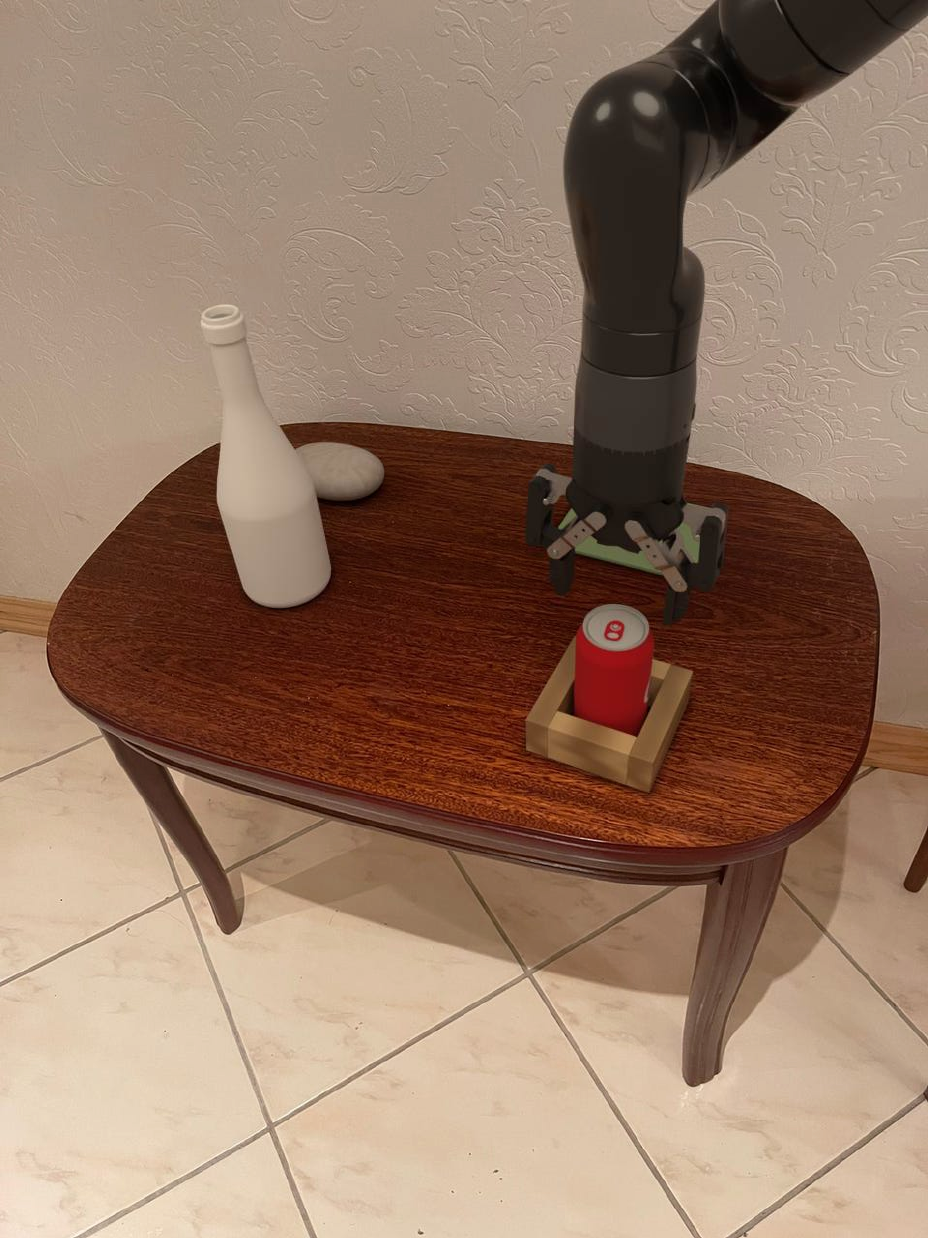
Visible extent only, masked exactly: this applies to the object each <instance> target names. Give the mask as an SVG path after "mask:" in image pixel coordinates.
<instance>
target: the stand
mask: <svg viewBox="0 0 928 1238" xmlns="http://www.w3.org/2000/svg"><path fill="white" fill-rule="evenodd" d="M575 649H576V635H575V636H574V637H573V638H572V639H571V641H570V643H569V644H568V647H567V648H566V650H565V652H564V653H563V655H562V657H561V659H560V660H559V662H558V664H557V666H556V667H555V669H554V670H553V672H552V674H551V676H550V677H549V679H548V681H547V682H546V684H545V686H544V688H543V689H542V690H541V692H540V694H539V695H538V698H537V699H536V701H535V703H534V704H533V707H532V708H531V709H530V712H529V713H528V715H527V716H526V718H525V750H526V751H528V752H530V753H534V754H537V755H539V756H541V757H545V758H547V759H550V760H554V761H557V762H559V763H561V764H565V765H568V766H570V767H573V768H576V769H580V770H582V771H585V772H587V773H591V774H594V775H595V776H599V777H602V778H605V779H608V780H610V781H613V782H616V783H619V784H622V785H623V786H624V785H625V786H628V787H631V788H633V789H637V790H639V791H642V792H645V793H647V794H649V793H650V792H651V790H652V787H653V785H654V784H655V781H656V779H657V776H658V774H659V771H660V769H661V767H662V765H663V762H664V759H665V758H666V755H667V754H668V751H669V748H670V745H671V743H672V741H673V739H674V737H675V734H676V731H677V729H678V727H679V725H680V722H681V720H682V717H683V715H684V713H685V711H686V709H687V706H688V704H689V699H690V695H691V694H690V693H691V687H692V682H693V676H694V671H693V670H691V669H688V668H684V667H681V666H679V665H678V666H677V665H674V664H671V663H667V662H665V661H660V660H658V659H654V658H653V661H652V670H651V679H650V688H649V697H648V706H647V707H649V708H650V709H649V712H647V715H646V720H645V722H644V724H643V726H642V728H641V730H640V733H639V735H638V737H635V736H632V735H629V734H626V733H623V732H620V731H617V730H614V729H611V728H607V727H604V726H601V725H598V724H595V723H592V722H589V721H586V720H583V719H580V718H577V717H574V715H572V713H573V712H574V687H575Z"/></svg>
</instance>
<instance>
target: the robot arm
mask: <svg viewBox="0 0 928 1238" xmlns="http://www.w3.org/2000/svg"><path fill="white" fill-rule="evenodd" d="M927 17H928V0H714V2H713V3H712V4H710V6H709V7H707V9H705V10H704V11H703V12H702V13H701V15H699V16H698V17H697V18H696V19H695V20H694V21H693V22H692V23H691V24H690V25H689V26H688V27H687V28H686V29H684V30H683V31H682V32H681V33H680V34H679V35H677V37H676V38H674V39H673V40H671V42H669V43H667V45H666V46H664V47H663V48H662V49H660V50H658V52H656V53H653V54H651V55H650V56H647V57H644V58H642V59H639V60H637V61H635V62H632V63H630V64H628V65H626V66H623V67H621V68H618V69H615V70H614V71H611V72H610V73H608V74H606V75H603V76H602V77H601V78H599V79H598V80H597V81H595V83H593V84H592V85H591V86H590V87H589V88H588V89H587V90H586V91H585V92H584V94H583V95H582V96H581V98H580V100H579V101H578V103H577V105H576V107H575V109H574V111H573V114H572V116H571V119H570V121H569V126H568V129H567V133H566V137H565V142H564V150H563V158H562V179H563V191H564V198H565V204H566V208H567V209H566V210H567V214H568V220H569V225H570V229H571V235H572V240H573V246H574V250H575V256H576V260H577V263H578V267H579V271H580V274H581V275H580V276H581V278H582V284H583V296H582V297H583V298H582V307H581V308H582V309H581V310H582V312H581V316H582V317H581V334H580V335H581V337H580V352H579V353H580V354H579V355H580V356H579V361H578V366H577V367H578V368H577V373H576V378H575V386H574V389H575V390H574V408H573V409H574V412H573V417H574V418H573V440H572V468H571V474H572V477H569V476H565V475H562V474H558V469H557V468H556V466H555V465H554V464H552V463H548V462H547V463H544V464H542V466H541V467H540V468H539V469H538V471H537V473H535V475H534V476H533V478H531V480H530V481H529V482H528V487H527V488H528V489H527V501H526V517H525V518H526V519H525V531H524V532H525V533H524V541H525V542H526V544H527V545H529V546H530V547H535V548H536V547H538V546H539V547H541V548H542V549H544V550H545V551H546V553H547V555H548V556H549V560H548V561H549V564H548V565H549V566H548V570H549V571H548V581H549V584H550V586H551V587H553V588H555V590H554V591H555V592H554V593H555V595H558V596H561V597H566V596H567V594H568V592H569V591H570V589H571V588H572V586H573V584H574V580H575V566H576V565H575V564H576V553H575V548H576V547H577V546H578V545H579V544H581V543H582V542H583V541H584V540H585V539H587V538H588V537H589V536H590V535H591V536H592V537H593V538H594V539H596V540H597V544H601V545H605V546H618V547H620V548H622V549H624V550H626V551H629V552H632V553H636V554H638V553H639V552H640V551H643V553H644V554H645V556H646V557H647V559H648V560H649V562H650V563H651V565H652V566H653V568H654V569H655V570H660V571H661V572H662V574H663V575H664V576H663V575H662V576H663V577H664V579H665V580H666V582H667V583H668V586H667V588H666V589H665V591H666V592H665V598H664V606H663V613H662V621H661V624H662V625H663V626H666V627H670V628H671V627H673V625H674V623H675V622H678V623H680V622H681V621H682V620H683V619H684V617H685V614H686V612H687V611H688V608H689V606H690V600H691V593H692V589H698V590H699V591H701V592H703V593H709V592H712V591H713V590H714V588H715V586H716V582H717V579H718V578H719V575H720V574H721V572H722V569H723V566H724V558H725V548H726V540H727V539H726V538H727V530H728V521H729V513H730V512H729V507H728V505H727V504H725V503H724V502H721V501H716V502H714V503H712V504H711V506H710V507H708V508H705V507H706V506H704V507H699V506H700V505H699V506H693V505H687V503H688V501H687V500H686V497H685V495H684V484H685V476H686V469H687V461H688V456H689V455H688V454H689V446H690V441H691V435H692V434H691V433H692V426H693V422H694V420H695V416H696V408H697V403H696V396H697V395H696V394H697V385H698V383H697V382H698V381H697V380H698V377H697V375H698V373H697V372H698V371H697V359H698V350H699V342H700V335H701V328H702V320H703V312H704V305H705V297H706V296H705V295H706V275H705V268H704V265H703V263H702V261H701V259H700V258H699V257H698V255H697V254H696V253H695V252H693V250H691V249H690V248H689V247H687V246H684V216H685V209H686V205H687V200H688V198H690V197H691V196H693V195H694V194H697V192H699V191H701V190H702V189H704V188H705V187H707V186H709V185H710V184H711V183H713V182H714V181H716V180H717V179H718V178H719V177H721V176H722V175H723V174H725V173H726V172H727V171H728V170H730V169H731V168H733V166H735V165H736V164H737V163H738V162H740V161H741V160H742V159H744V157H746V156H747V155H748V154H749V153H751V152H752V151H753V150H755V149H756V147H758V146H759V145H760V144H761V143H763V142H764V141H765V140H766V139H767V138H768V137H770V136H771V135H772V134H773V133H774V132H775V131H776V130H777V129H778V128H780V127H781V126H782V125H783V124H784V123H785V122H787V120H789V119H790V118H791V117H792V116H793V115H795V113H797V112H798V110H800V109H801V107H803V106H804V105H805V104H806V103H808V102H811V101H812V100H814V99H816V98H818V97H819V96H821V95H823V94H824V93H826V92H827V91H829V90H831V89H833V88H834V87H835V86H837V85H839V83H841V82H843V81H844V80H845V79H846V78H849V76H851V75H853V74H854V72H856V71H858V70H859V69H860V68H862V67H864V65H865V64H867V63H868V62H869V61H871V60H873V58H875V57H876V56H877V55H879V54H880V53H882V52H883V51H884V50H886V49H887V48H888V47H889V46H891V45H893V43H895V42H896V41H897V40H899V39H900V38H902V37H903V36H904V35H905V34H907V33H908V32H909V31H911V30H912V29H913V28H915V27H916V26H917V25H919V24H920V23H921V22H923V21H924V20H925V19H926V18H927ZM562 496H565V499H566V501H567V503H568V505H569V507H570V508H572V509H573V510H574V512H575V514H576V516H575V517H574V519H572V520H571V521H570V522H569V523H568V524H567V525H565V526H564V527H563V528H562V529H559V528H558V527H557V526H555V525H554V524H553V521H554V520H553V519H554V512H555V511H554V510H555V504H556V503H557V502H558V500H559V499H560V497H562ZM681 523H685V524H687V525H688V526H689V527H690V528H691V533H692V535H693V537H694V540H695V541H697V542H699V541H700V545H699V557H698V563H695V562H694V560H693V559H692V557H691V555H690V554H689V552H688V551H687V549H686V548H685V546H684V539H683V536H682V534H681V533H680V531H679V530H678V527H679V526H680V525H681ZM661 540H662V545H660V543H659V542H660V541H661Z"/></svg>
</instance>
